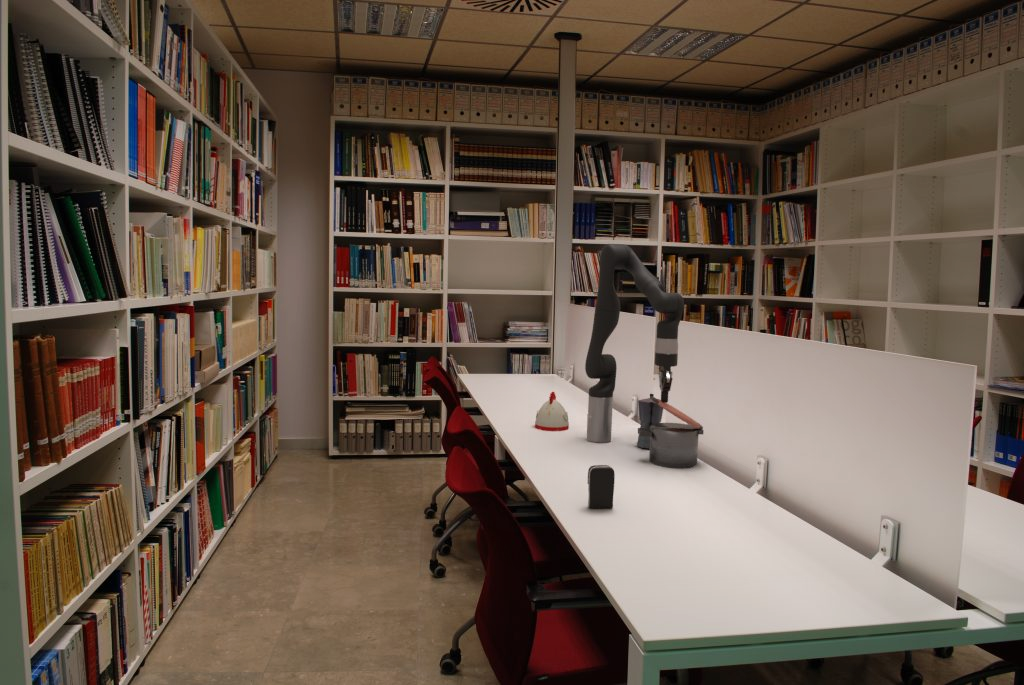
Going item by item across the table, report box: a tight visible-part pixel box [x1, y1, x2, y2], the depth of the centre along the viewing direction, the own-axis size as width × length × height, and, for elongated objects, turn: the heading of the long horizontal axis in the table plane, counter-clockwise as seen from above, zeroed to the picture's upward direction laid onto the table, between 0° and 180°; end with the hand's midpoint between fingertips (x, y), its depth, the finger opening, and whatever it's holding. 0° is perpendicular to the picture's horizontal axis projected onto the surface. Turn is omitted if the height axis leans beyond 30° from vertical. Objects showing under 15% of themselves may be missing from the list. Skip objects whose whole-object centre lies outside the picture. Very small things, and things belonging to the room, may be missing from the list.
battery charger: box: [587, 464, 616, 509], centre depth 190 cm, size 7×4×11 cm, turn 98°
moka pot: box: [636, 393, 664, 450], centre depth 259 cm, size 10×15×20 cm, turn 174°
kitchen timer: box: [534, 391, 570, 432], centre depth 289 cm, size 14×14×15 cm
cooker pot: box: [637, 422, 704, 469], centre depth 239 cm, size 21×16×12 cm
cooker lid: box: [649, 396, 704, 430], centre depth 238 cm, size 20×17×1 cm
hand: (664, 402), depth 238 cm, fingers closed
